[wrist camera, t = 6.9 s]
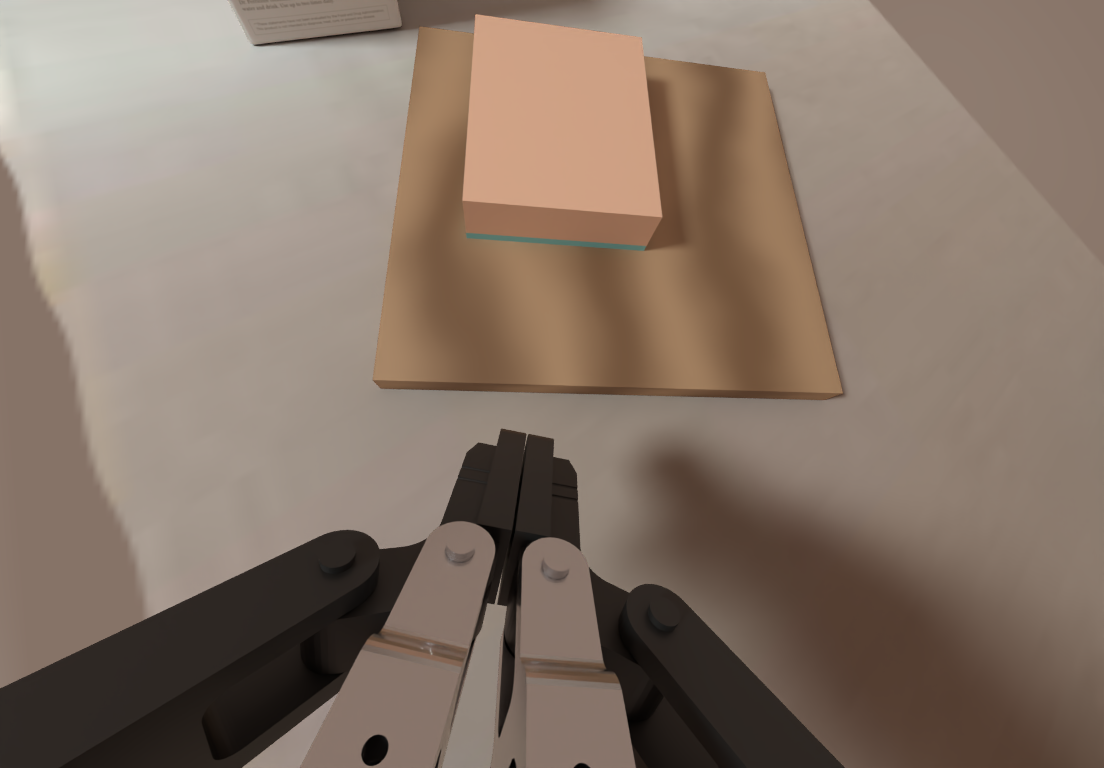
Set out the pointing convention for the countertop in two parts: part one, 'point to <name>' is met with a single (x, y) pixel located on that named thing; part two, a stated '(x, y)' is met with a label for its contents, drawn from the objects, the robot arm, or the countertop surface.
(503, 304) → the tan wooden board
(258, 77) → the countertop surface
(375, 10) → the supplement box
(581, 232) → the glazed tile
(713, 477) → the countertop surface
